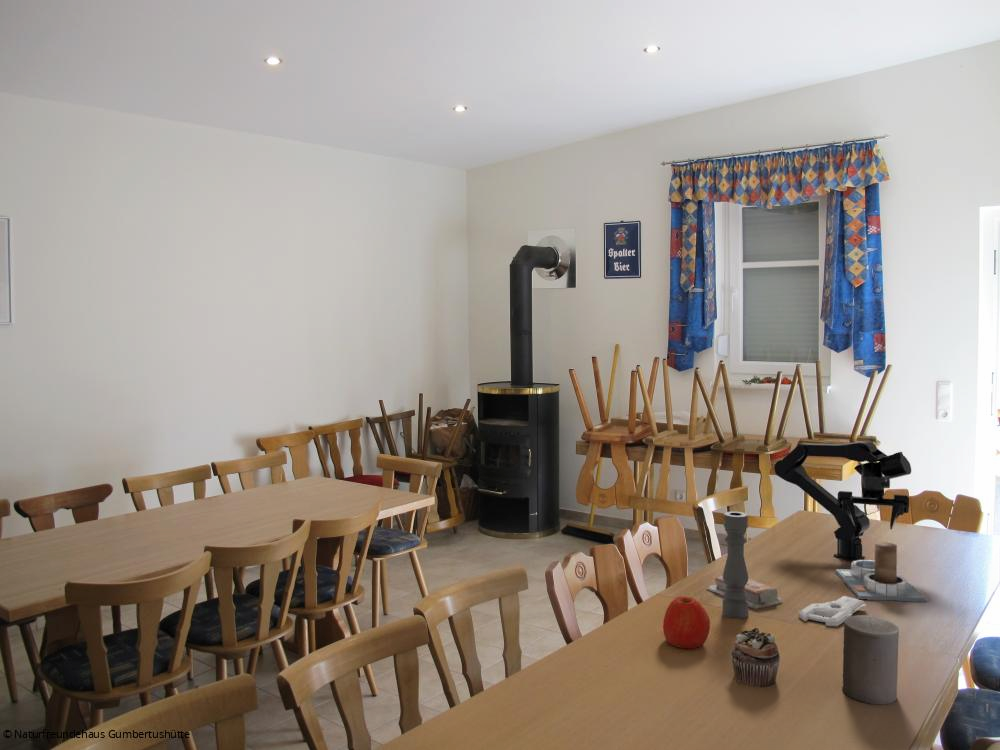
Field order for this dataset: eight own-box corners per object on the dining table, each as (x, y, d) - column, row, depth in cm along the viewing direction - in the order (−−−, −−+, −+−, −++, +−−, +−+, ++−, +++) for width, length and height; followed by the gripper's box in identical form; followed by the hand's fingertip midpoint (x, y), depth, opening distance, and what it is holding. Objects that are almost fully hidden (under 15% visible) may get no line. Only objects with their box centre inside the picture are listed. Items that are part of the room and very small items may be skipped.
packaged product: (784, 585, 206) (755, 592, 202) (784, 604, 207) (755, 611, 202) (733, 567, 222) (705, 573, 218) (733, 584, 223) (705, 590, 218)
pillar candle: (833, 693, 156) (835, 617, 155) (854, 677, 163) (856, 604, 162) (886, 710, 149) (888, 631, 148) (905, 693, 156) (907, 617, 155)
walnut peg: (870, 588, 214) (870, 543, 213) (884, 585, 216) (884, 541, 215) (886, 594, 209) (887, 548, 208) (901, 590, 211) (901, 545, 210)
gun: (829, 588, 207) (869, 597, 200) (829, 601, 207) (869, 611, 200) (794, 609, 195) (835, 620, 188) (794, 623, 195) (835, 635, 188)
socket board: (835, 572, 231) (835, 558, 231) (895, 574, 228) (895, 560, 228) (859, 599, 208) (859, 584, 208) (925, 601, 206) (925, 586, 206)
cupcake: (788, 678, 163) (789, 629, 162) (764, 693, 156) (765, 643, 156) (745, 664, 170) (746, 617, 169) (721, 678, 163) (721, 630, 163)
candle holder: (726, 608, 203) (726, 510, 202) (751, 612, 200) (751, 512, 199) (719, 616, 198) (719, 515, 196) (744, 620, 195) (745, 518, 193)
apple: (714, 639, 184) (714, 594, 183) (701, 655, 175) (701, 608, 174) (671, 631, 189) (671, 587, 188) (656, 646, 180) (656, 600, 179)
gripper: (837, 463, 235) (837, 509, 226) (909, 467, 228) (911, 514, 219) (837, 485, 243) (837, 530, 234) (907, 489, 236) (909, 535, 226)
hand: (873, 527), depth 228 cm, fingers open, 9 cm apart
